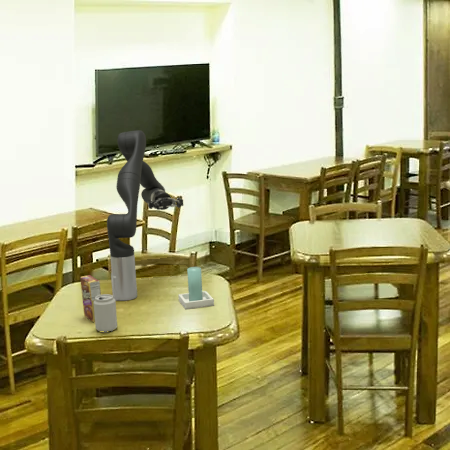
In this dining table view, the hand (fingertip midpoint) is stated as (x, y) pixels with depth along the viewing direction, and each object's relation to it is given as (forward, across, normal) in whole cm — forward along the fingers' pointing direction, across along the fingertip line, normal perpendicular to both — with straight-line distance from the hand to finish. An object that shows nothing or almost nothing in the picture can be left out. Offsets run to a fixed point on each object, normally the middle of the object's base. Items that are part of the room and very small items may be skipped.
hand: (169, 206), depth 311 cm
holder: (+30, +2, +32) cm, 44 cm away
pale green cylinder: (+30, +2, +32) cm, 44 cm away
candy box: (+32, -37, +32) cm, 59 cm away
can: (+45, -34, +32) cm, 65 cm away
